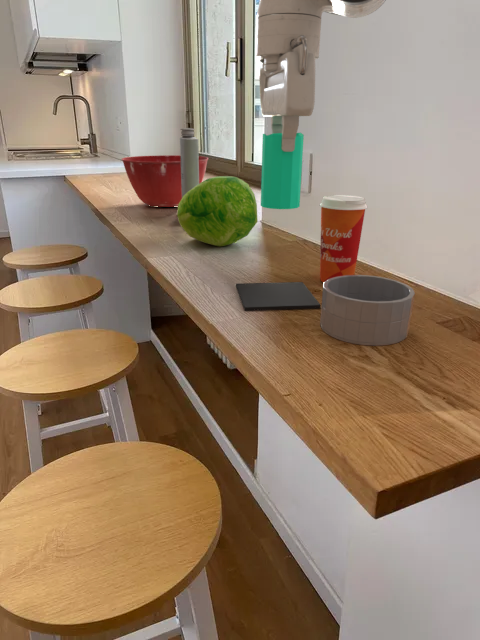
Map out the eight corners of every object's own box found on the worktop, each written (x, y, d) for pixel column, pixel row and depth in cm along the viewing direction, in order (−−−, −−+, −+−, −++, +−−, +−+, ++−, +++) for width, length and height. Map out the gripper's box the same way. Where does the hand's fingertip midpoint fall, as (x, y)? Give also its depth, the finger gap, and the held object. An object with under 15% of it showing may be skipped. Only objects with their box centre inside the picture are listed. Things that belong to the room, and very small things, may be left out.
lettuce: (229, 230, 129) (185, 182, 123) (282, 201, 114) (234, 145, 108) (200, 275, 120) (149, 226, 114) (253, 250, 105) (198, 191, 99)
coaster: (302, 285, 88) (302, 281, 88) (320, 308, 77) (320, 305, 77) (235, 286, 87) (235, 283, 87) (244, 310, 76) (244, 307, 76)
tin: (387, 311, 77) (392, 273, 75) (423, 343, 66) (430, 301, 63) (310, 313, 75) (313, 275, 73) (334, 347, 64) (338, 304, 62)
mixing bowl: (124, 213, 152) (120, 160, 147) (125, 199, 178) (121, 154, 172) (214, 211, 158) (214, 160, 152) (202, 198, 184) (202, 154, 178)
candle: (286, 202, 80) (290, 122, 76) (307, 207, 75) (312, 123, 71) (254, 204, 78) (255, 122, 73) (272, 210, 73) (275, 122, 68)
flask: (181, 215, 150) (179, 127, 141) (197, 215, 151) (195, 127, 141) (183, 227, 134) (180, 128, 125) (200, 227, 135) (198, 128, 125)
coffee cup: (304, 279, 91) (310, 197, 86) (332, 271, 96) (339, 193, 91) (341, 290, 86) (350, 202, 80) (368, 281, 91) (378, 198, 85)
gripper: (331, 33, 59) (322, 154, 64) (293, 53, 78) (289, 146, 83) (279, 31, 58) (275, 154, 63) (254, 52, 77) (251, 146, 82)
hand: (282, 150), depth 73 cm, fingers closed on candle, 5 cm apart
